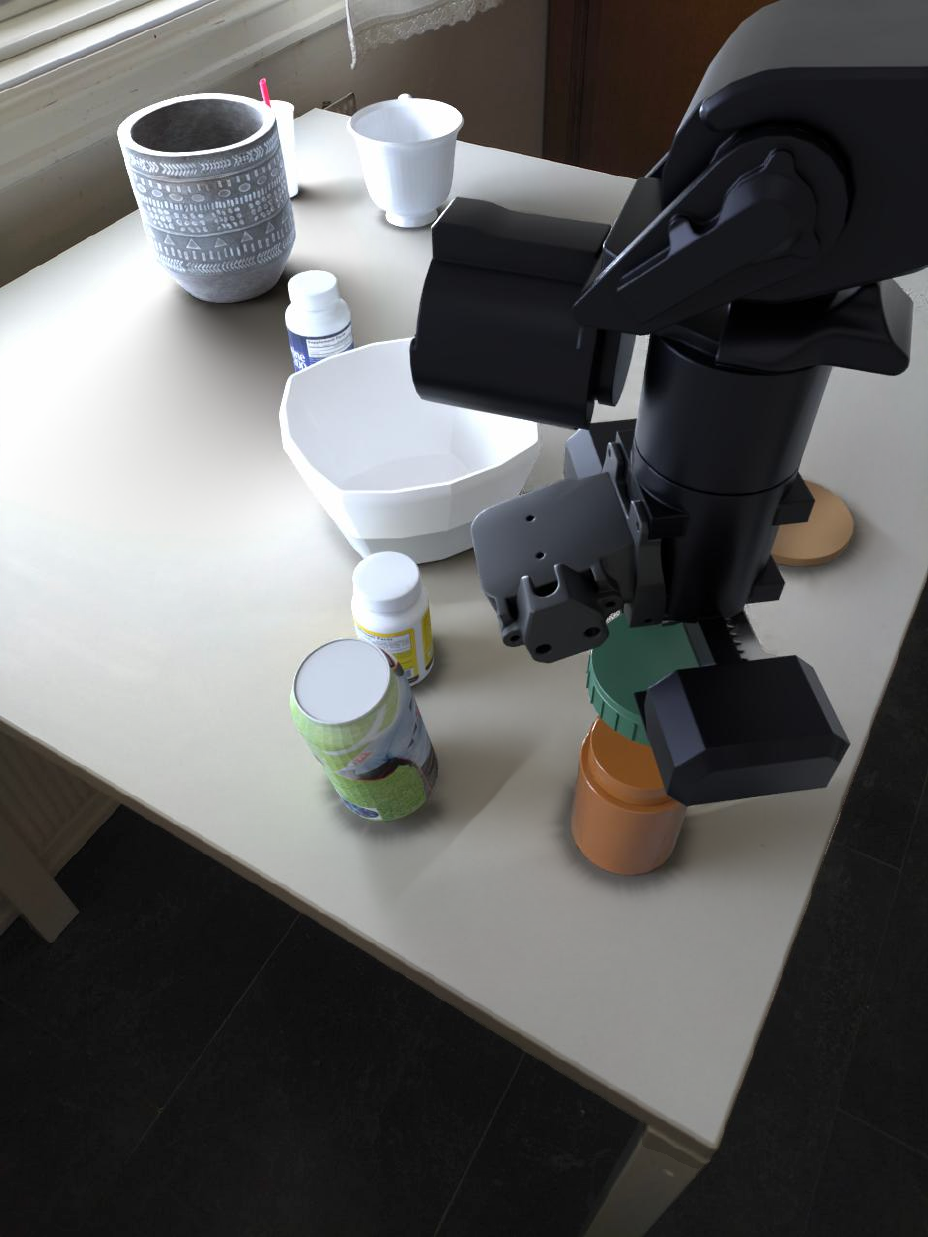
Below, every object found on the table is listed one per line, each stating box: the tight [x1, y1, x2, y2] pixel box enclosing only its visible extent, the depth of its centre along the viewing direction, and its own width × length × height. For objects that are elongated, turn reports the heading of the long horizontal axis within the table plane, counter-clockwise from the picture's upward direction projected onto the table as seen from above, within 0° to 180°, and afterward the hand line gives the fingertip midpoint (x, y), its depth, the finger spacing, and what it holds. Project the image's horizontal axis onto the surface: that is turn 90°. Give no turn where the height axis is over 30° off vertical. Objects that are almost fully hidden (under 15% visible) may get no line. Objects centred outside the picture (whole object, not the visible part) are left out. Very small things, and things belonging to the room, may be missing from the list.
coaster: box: [771, 478, 855, 567], centre depth 67 cm, size 9×9×1 cm
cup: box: [259, 78, 299, 198], centre depth 100 cm, size 5×5×12 cm
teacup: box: [346, 93, 465, 229], centre depth 98 cm, size 12×15×10 cm
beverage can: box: [289, 637, 439, 822], centre depth 49 cm, size 6×7×12 cm
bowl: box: [279, 337, 543, 565], centre depth 65 cm, size 18×18×9 cm
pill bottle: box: [284, 269, 355, 373], centre depth 76 cm, size 5×5×10 cm
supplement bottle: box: [351, 552, 435, 687], centre depth 56 cm, size 5×5×8 cm
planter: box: [117, 93, 297, 304], centre depth 87 cm, size 14×14×15 cm
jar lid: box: [585, 613, 698, 747], centre depth 41 cm, size 7×7×2 cm
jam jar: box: [570, 715, 689, 876], centre depth 48 cm, size 6×6×9 cm
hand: (654, 702), depth 43 cm, fingers closed on jar lid, 6 cm apart
